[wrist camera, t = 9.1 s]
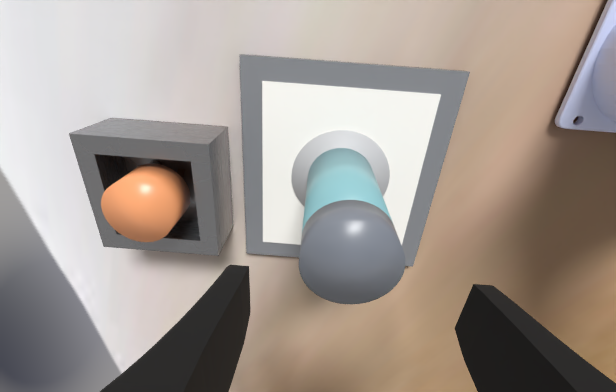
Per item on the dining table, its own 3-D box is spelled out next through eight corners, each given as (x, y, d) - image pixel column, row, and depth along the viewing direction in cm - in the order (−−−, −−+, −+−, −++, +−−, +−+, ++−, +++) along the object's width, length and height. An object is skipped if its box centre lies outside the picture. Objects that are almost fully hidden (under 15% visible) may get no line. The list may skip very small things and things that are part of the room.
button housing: (227, 126, 18) (208, 144, 15) (233, 225, 21) (218, 255, 18) (111, 117, 18) (68, 133, 15) (134, 217, 21) (103, 246, 18)
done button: (186, 166, 17) (166, 184, 15) (193, 220, 18) (177, 244, 16) (122, 160, 17) (92, 178, 15) (135, 216, 18) (110, 239, 16)
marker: (378, 150, 18) (416, 226, 10) (367, 209, 19) (393, 307, 12) (310, 145, 18) (301, 217, 10) (305, 204, 19) (296, 300, 12)
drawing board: (465, 71, 16) (471, 72, 15) (411, 261, 22) (413, 268, 21) (241, 54, 16) (238, 54, 15) (248, 248, 22) (245, 254, 22)
